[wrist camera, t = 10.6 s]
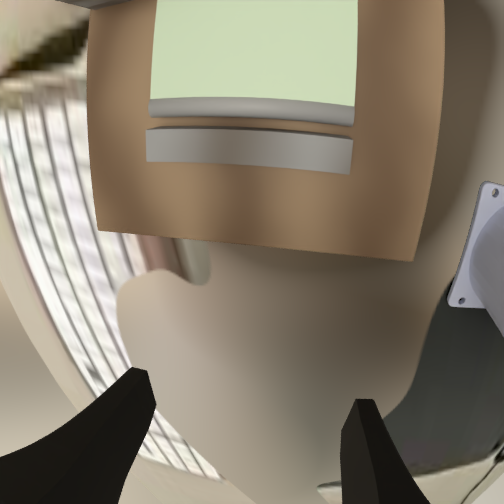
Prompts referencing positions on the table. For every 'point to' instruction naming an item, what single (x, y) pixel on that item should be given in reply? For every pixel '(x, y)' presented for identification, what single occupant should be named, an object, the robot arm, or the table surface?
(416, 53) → the board
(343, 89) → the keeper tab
